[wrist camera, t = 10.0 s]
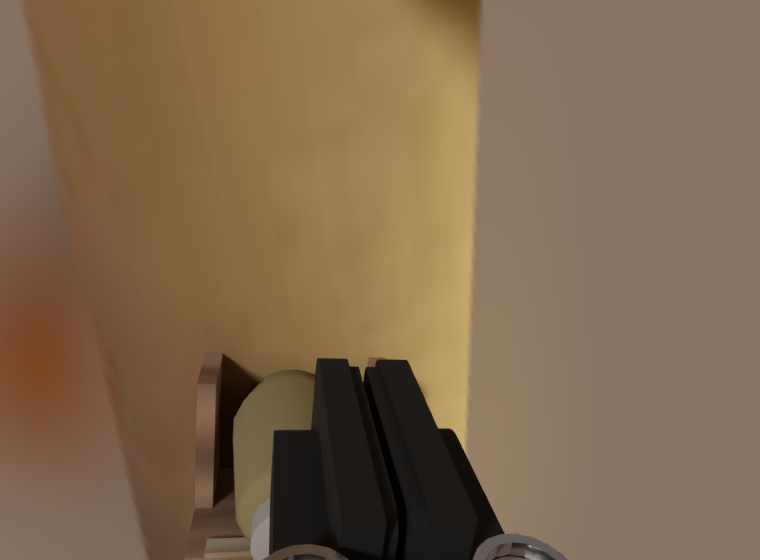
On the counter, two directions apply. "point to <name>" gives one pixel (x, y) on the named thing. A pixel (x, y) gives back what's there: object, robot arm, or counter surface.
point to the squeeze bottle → (265, 447)
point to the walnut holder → (215, 477)
